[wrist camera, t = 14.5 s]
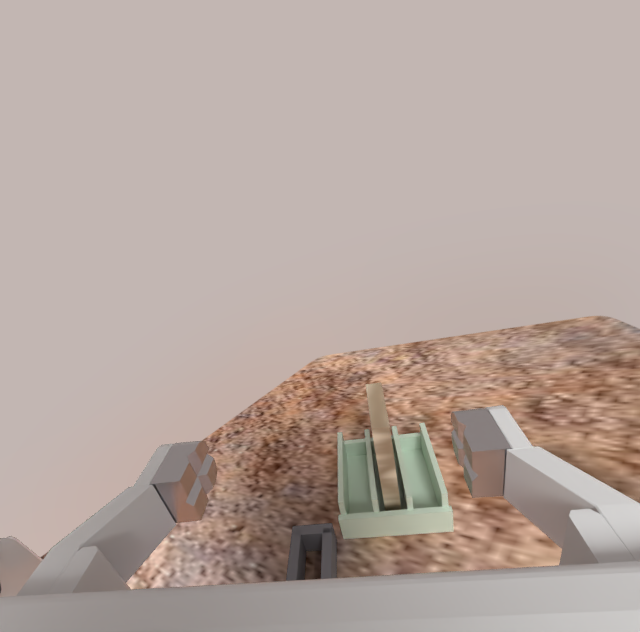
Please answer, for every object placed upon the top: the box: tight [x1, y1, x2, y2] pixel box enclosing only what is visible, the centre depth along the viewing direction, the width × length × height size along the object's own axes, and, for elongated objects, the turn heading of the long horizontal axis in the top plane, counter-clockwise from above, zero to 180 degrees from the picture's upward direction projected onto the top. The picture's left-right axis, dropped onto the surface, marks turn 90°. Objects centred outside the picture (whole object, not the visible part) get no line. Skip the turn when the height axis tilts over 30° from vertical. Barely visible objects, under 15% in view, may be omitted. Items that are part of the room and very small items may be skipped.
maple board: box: [366, 383, 401, 511], centre depth 38 cm, size 2×7×13 cm, turn 178°
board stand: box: [286, 523, 337, 581], centre depth 32 cm, size 4×10×3 cm, turn 177°
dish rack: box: [338, 423, 454, 539], centre depth 40 cm, size 12×11×6 cm
